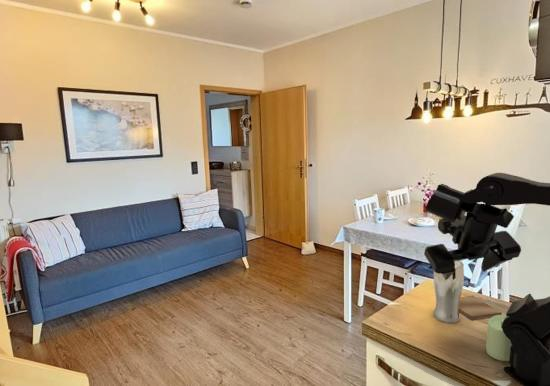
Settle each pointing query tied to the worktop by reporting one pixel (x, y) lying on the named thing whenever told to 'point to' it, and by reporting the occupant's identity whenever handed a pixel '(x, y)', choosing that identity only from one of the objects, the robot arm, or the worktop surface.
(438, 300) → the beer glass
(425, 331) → the worktop surface
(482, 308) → the walnut board
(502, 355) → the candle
